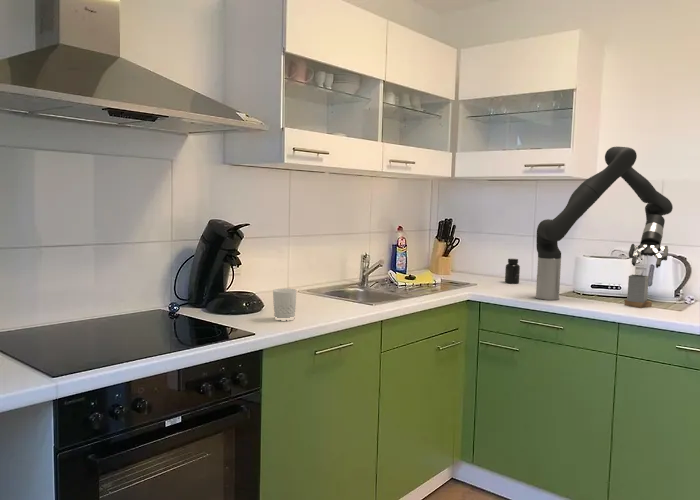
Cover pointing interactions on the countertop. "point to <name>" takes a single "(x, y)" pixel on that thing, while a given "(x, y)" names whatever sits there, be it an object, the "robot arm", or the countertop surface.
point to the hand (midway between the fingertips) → (645, 265)
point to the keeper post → (638, 304)
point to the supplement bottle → (512, 272)
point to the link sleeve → (638, 288)
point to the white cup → (284, 303)
